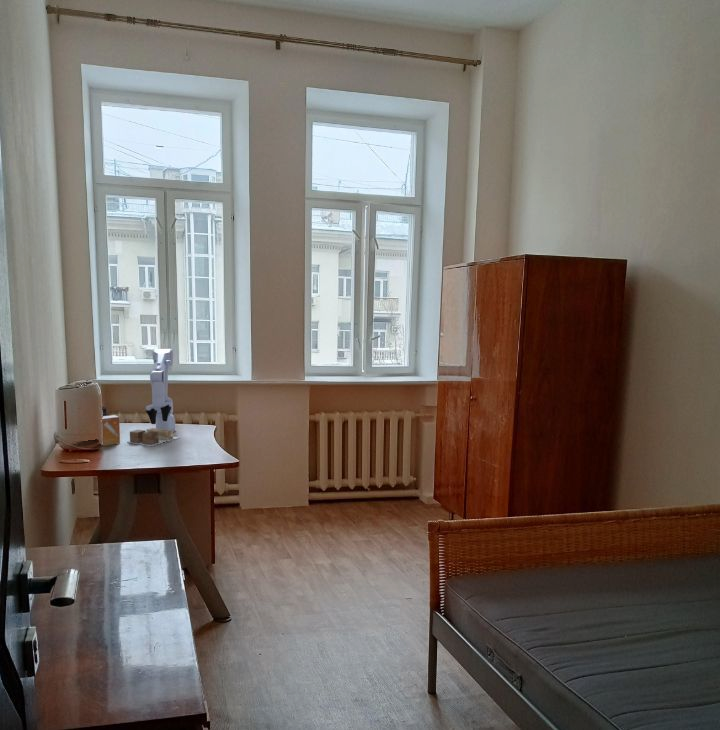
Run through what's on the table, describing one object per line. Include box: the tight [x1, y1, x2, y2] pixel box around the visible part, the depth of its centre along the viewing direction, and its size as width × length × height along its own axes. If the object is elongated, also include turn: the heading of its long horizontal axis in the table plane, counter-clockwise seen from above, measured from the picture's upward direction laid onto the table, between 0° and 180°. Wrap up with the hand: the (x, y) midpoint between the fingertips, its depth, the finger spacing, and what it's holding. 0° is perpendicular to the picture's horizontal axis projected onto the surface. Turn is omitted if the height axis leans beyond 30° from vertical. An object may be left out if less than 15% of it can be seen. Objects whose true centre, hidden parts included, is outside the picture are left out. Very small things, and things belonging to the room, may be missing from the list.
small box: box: [101, 414, 121, 447], centre depth 267 cm, size 8×6×13 cm
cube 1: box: [129, 429, 147, 443], centre depth 270 cm, size 5×5×5 cm
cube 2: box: [142, 431, 159, 445], centre depth 267 cm, size 5×5×5 cm
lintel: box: [145, 427, 174, 440], centre depth 278 cm, size 4×13×4 cm, turn 66°
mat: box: [126, 436, 180, 447], centre depth 274 cm, size 18×16×1 cm
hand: (159, 422), depth 277 cm, fingers open, 7 cm apart
